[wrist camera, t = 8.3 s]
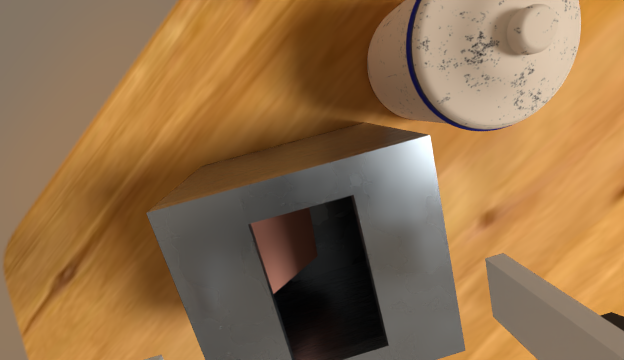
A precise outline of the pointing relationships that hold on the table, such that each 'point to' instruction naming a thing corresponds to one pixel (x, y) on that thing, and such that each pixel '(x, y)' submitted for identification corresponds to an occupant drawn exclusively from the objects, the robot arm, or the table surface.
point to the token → (285, 245)
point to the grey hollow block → (330, 248)
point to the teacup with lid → (473, 59)
